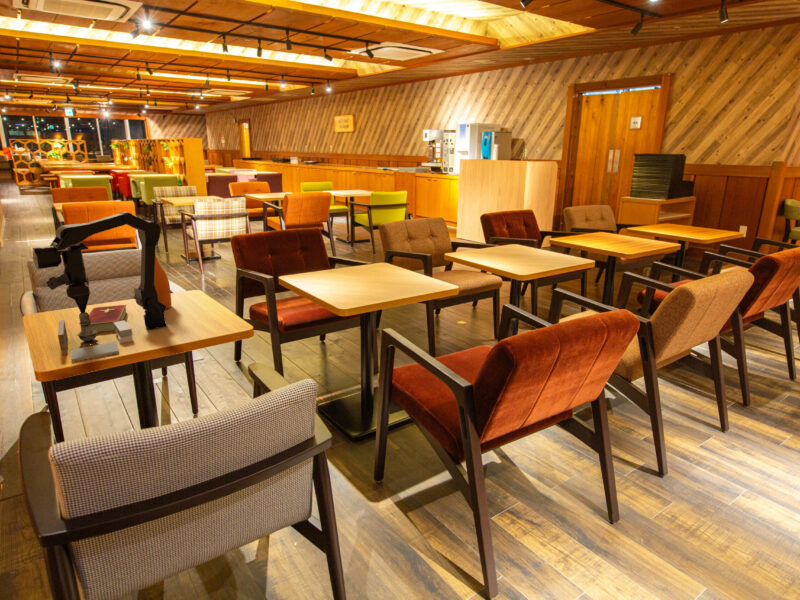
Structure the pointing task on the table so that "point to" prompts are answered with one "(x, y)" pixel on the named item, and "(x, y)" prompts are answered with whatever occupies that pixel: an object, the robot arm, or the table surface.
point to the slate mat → (94, 351)
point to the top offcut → (122, 328)
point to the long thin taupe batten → (63, 337)
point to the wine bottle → (162, 285)
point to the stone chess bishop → (86, 330)
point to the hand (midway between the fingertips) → (82, 308)
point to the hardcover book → (106, 317)
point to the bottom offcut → (124, 338)
